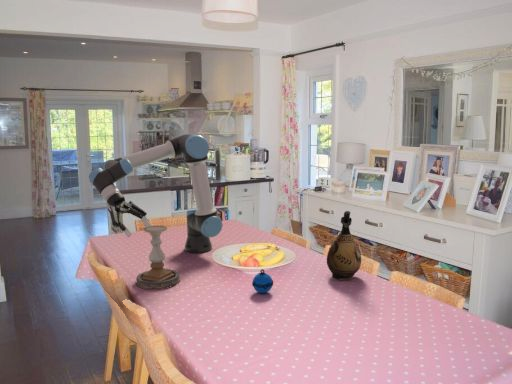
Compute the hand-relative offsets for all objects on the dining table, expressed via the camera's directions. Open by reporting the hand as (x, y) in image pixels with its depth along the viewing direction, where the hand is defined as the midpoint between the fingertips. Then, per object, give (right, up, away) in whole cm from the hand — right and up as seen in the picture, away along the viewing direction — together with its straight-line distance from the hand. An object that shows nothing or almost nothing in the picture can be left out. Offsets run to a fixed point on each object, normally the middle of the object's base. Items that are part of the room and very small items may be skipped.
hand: (140, 232), depth 210 cm
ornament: (+55, -24, -15) cm, 62 cm away
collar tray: (+8, -22, 0) cm, 24 cm away
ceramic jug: (+92, -21, +4) cm, 94 cm away
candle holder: (+8, -22, 0) cm, 23 cm away
